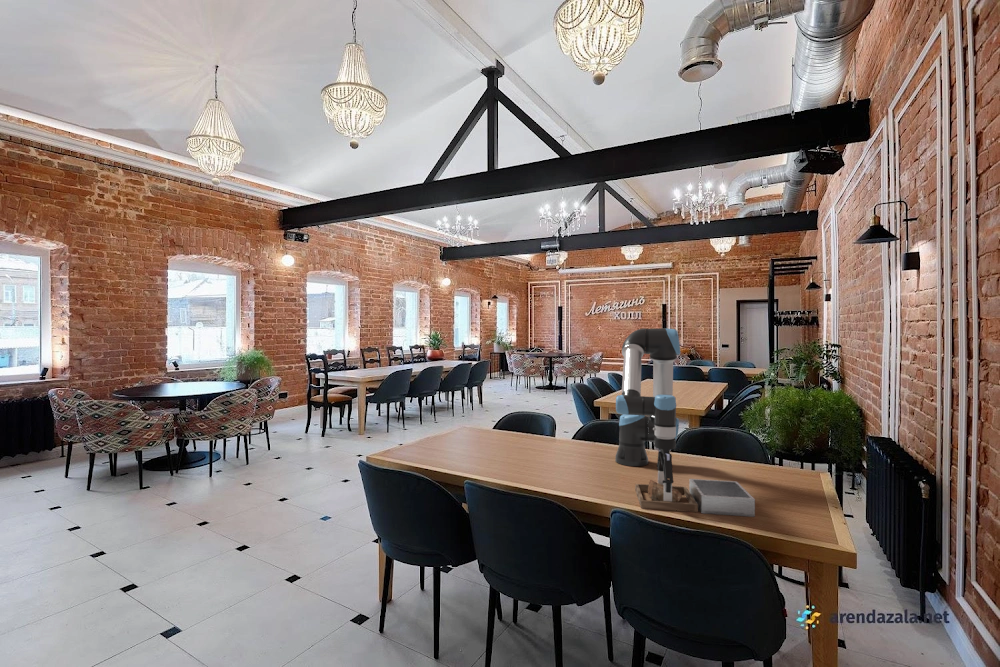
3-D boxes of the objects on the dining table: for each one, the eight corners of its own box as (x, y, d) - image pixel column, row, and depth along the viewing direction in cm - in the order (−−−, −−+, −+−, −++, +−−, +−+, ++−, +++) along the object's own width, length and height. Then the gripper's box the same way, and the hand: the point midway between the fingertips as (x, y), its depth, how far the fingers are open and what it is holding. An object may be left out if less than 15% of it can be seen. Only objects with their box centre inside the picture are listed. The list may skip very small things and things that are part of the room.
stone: (656, 505, 181) (678, 489, 180) (666, 519, 170) (688, 503, 169) (640, 484, 180) (661, 469, 179) (648, 497, 169) (671, 481, 168)
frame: (635, 490, 185) (635, 483, 185) (686, 493, 182) (686, 486, 182) (641, 508, 166) (641, 501, 166) (697, 511, 163) (697, 504, 163)
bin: (689, 494, 181) (689, 478, 181) (736, 497, 178) (736, 481, 178) (701, 513, 162) (701, 495, 162) (754, 516, 159) (754, 499, 159)
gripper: (649, 429, 187) (649, 483, 187) (659, 444, 162) (659, 505, 162) (669, 430, 185) (669, 484, 185) (682, 445, 161) (682, 507, 161)
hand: (664, 494), depth 174 cm, fingers open, 13 cm apart
